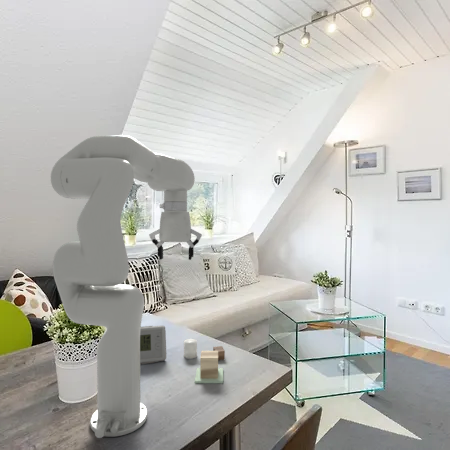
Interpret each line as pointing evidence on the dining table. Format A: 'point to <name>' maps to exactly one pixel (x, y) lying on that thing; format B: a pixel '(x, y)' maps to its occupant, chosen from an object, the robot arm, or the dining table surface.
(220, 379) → the felt pad
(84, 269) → the robot arm
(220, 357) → the walnut box
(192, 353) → the white capsule
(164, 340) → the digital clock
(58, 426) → the dining table surface
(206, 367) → the beech block
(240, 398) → the dining table surface
